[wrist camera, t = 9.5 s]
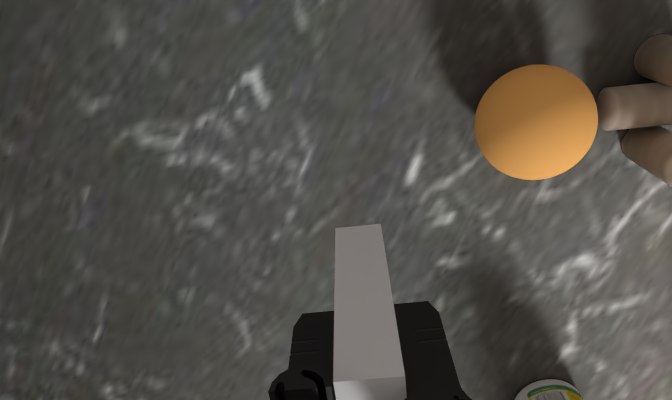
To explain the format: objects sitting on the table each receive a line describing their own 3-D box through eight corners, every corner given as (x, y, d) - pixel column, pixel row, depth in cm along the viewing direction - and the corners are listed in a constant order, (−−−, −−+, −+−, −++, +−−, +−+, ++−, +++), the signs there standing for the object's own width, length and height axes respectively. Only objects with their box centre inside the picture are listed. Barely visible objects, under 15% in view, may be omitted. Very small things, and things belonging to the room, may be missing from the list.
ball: (615, 172, 26) (519, 149, 30) (629, 57, 23) (523, 51, 28) (545, 210, 23) (452, 178, 28) (553, 84, 20) (449, 73, 25)
